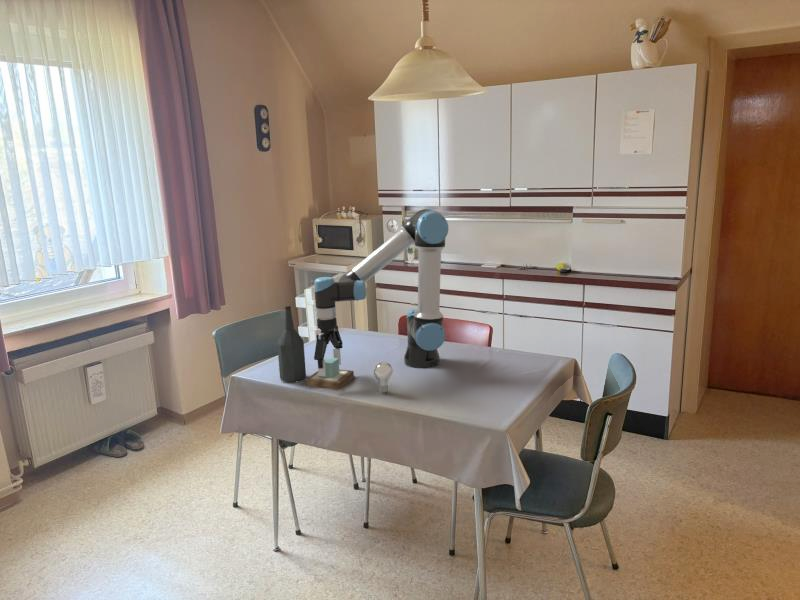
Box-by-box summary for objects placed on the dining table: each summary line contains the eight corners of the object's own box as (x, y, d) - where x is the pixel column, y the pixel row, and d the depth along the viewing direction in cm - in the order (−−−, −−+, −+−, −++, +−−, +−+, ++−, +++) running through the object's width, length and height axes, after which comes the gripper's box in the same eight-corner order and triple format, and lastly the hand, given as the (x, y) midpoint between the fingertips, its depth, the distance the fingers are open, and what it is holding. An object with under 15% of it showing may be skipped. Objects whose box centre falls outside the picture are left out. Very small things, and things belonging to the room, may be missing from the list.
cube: (339, 372, 241) (338, 358, 240) (332, 378, 236) (331, 363, 234) (325, 371, 243) (324, 357, 242) (318, 376, 238) (317, 362, 236)
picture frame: (353, 376, 244) (353, 370, 244) (338, 389, 231) (338, 382, 231) (322, 373, 249) (322, 367, 248) (306, 385, 236) (305, 379, 235)
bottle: (297, 384, 238) (292, 309, 231) (275, 381, 242) (269, 308, 235) (310, 375, 248) (305, 303, 241) (289, 373, 251) (283, 302, 244)
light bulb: (378, 397, 222) (377, 366, 219) (371, 391, 228) (370, 360, 225) (396, 394, 224) (395, 363, 222) (389, 388, 231) (387, 357, 228)
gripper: (331, 309, 247) (335, 359, 252) (302, 325, 224) (306, 380, 229) (348, 310, 244) (351, 360, 249) (320, 326, 222) (324, 381, 226)
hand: (330, 369), depth 239 cm, fingers open, 13 cm apart
